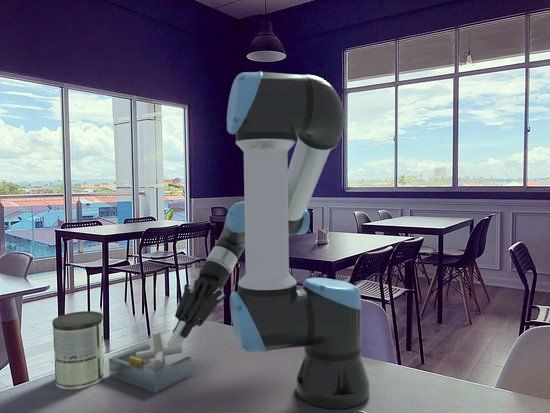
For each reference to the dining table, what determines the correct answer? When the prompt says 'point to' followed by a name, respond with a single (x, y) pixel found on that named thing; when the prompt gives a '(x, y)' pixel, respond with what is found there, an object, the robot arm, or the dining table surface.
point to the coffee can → (78, 350)
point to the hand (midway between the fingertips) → (172, 347)
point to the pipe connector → (159, 351)
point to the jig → (148, 371)
